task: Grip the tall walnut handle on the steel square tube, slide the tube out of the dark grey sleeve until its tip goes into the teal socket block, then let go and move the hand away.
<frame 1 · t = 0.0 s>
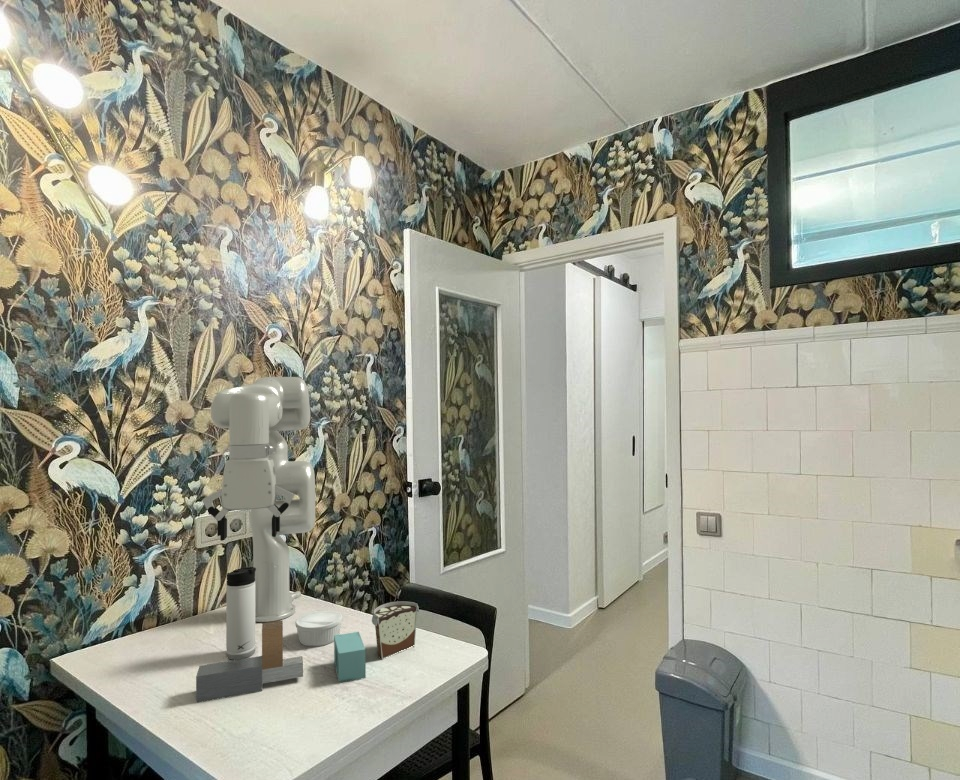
hand: (249, 537, 112), 31 cm above the table, tool pointing down, fingers open, 9 cm apart
food container: (391, 650, 130), on the table
inner tube: (254, 654, 114), point 6 cm above the table, slide at 0.0 cm, touching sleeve
socket block: (349, 656, 120), on the table
ramekin: (319, 640, 137), on the table
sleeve: (197, 696, 110), on the table
travel mug: (241, 655, 129), on the table
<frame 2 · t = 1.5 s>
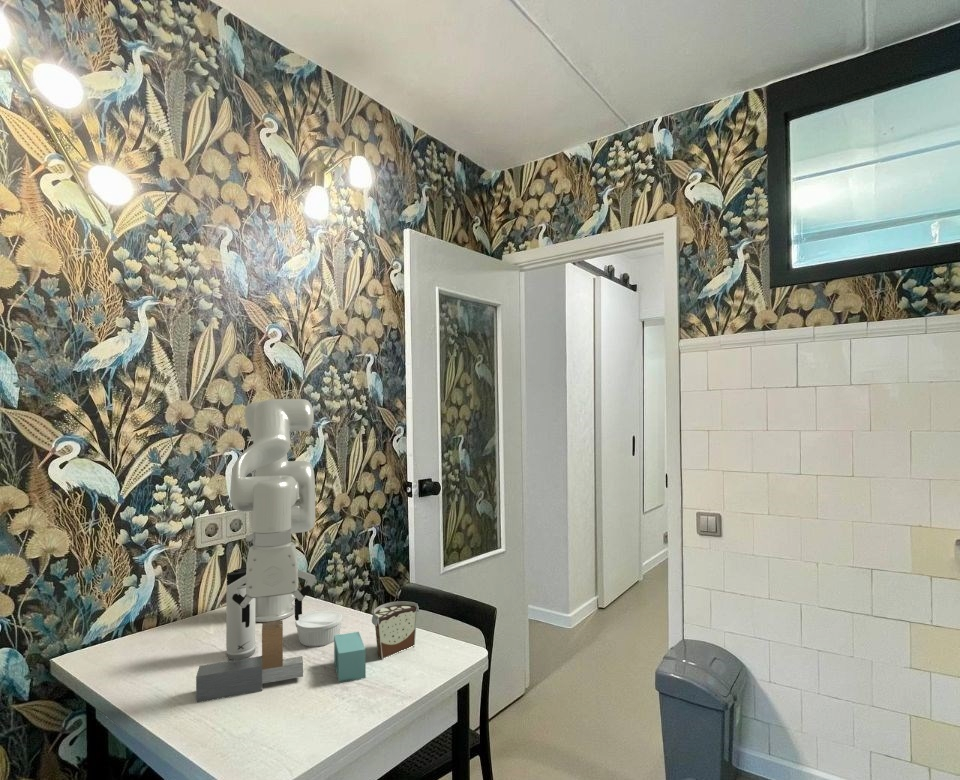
hand: (272, 621, 115), 13 cm above the table, tool pointing down, fingers open, 9 cm apart
nothing on the table moved.
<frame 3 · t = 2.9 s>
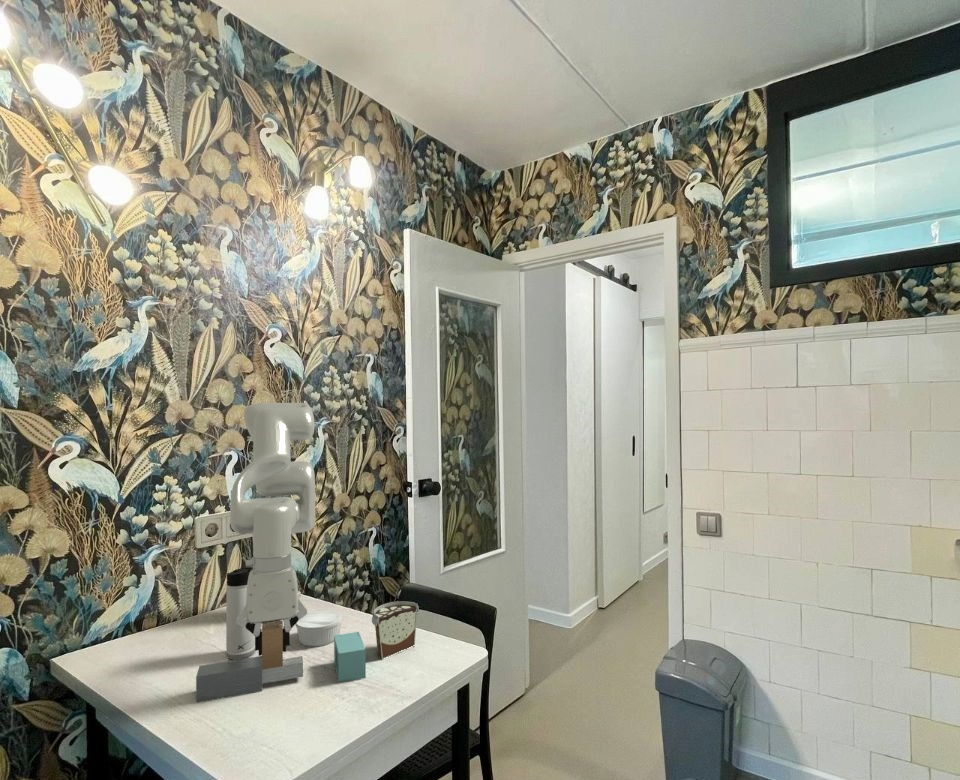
hand: (272, 650, 115), 7 cm above the table, tool pointing down, fingers closed on inner tube, 4 cm apart
inner tube: (254, 654, 114), point 6 cm above the table, slide at 0.0 cm, touching gripper
everything else where it was.
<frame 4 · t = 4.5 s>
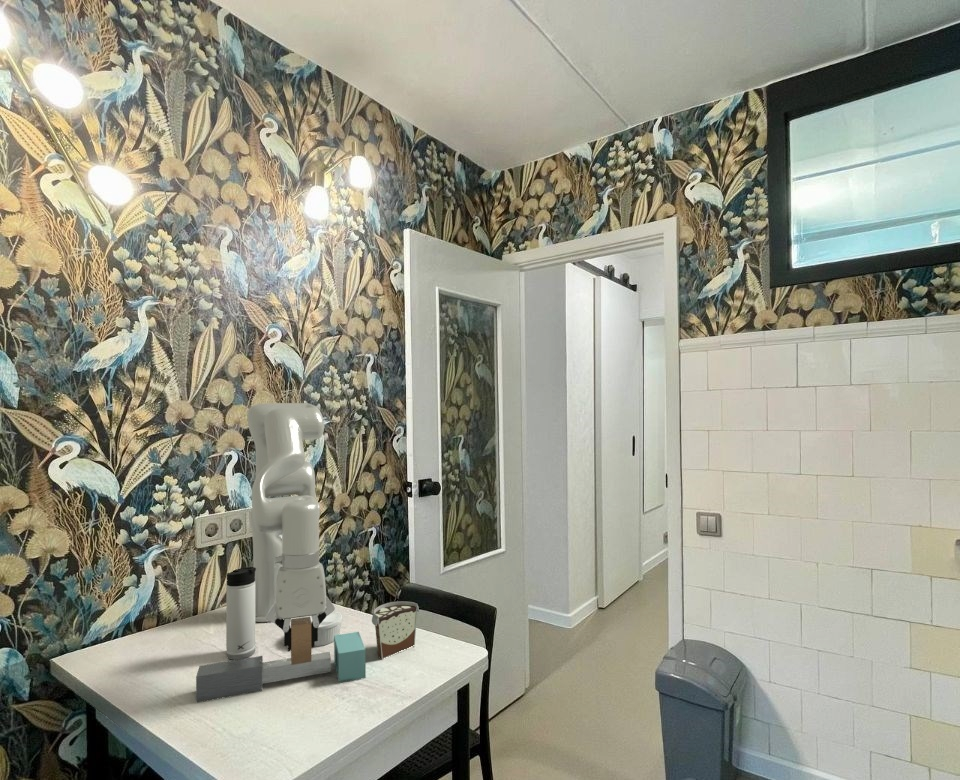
hand: (301, 645, 117), 7 cm above the table, tool pointing down, fingers closed on inner tube, 4 cm apart
inner tube: (283, 650, 116), point 6 cm above the table, slide at 5.7 cm, touching gripper
everything else where it was.
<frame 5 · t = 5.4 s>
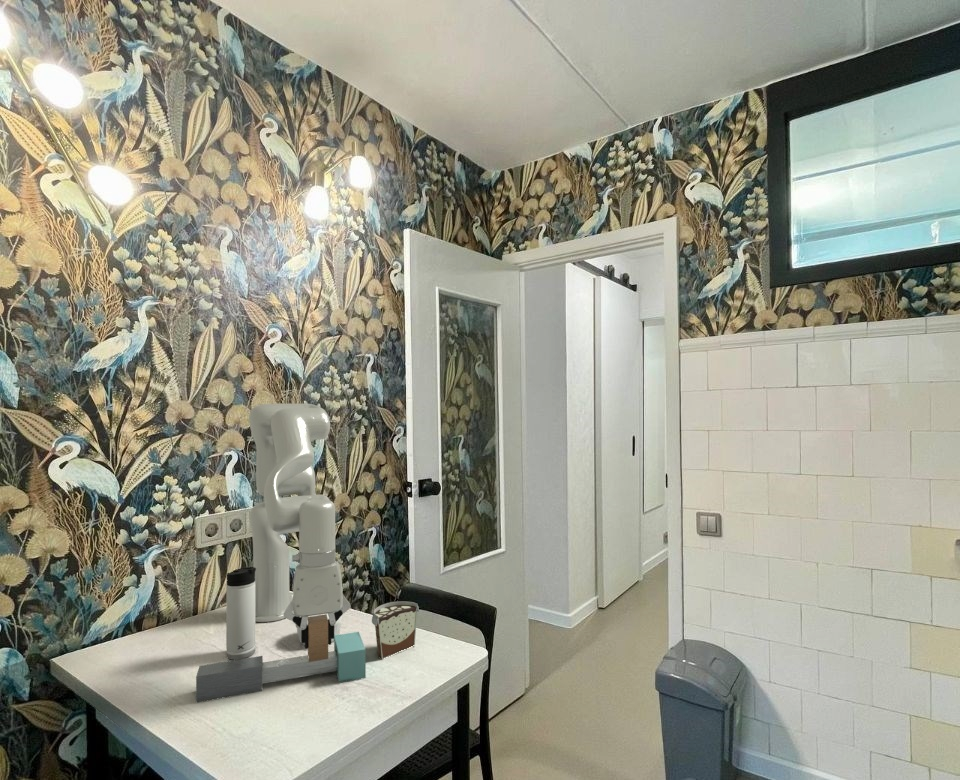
hand: (317, 643, 118), 7 cm above the table, tool pointing down, fingers closed on inner tube, 4 cm apart
inner tube: (300, 647, 117), point 6 cm above the table, slide at 9.1 cm, touching gripper
everything else where it was.
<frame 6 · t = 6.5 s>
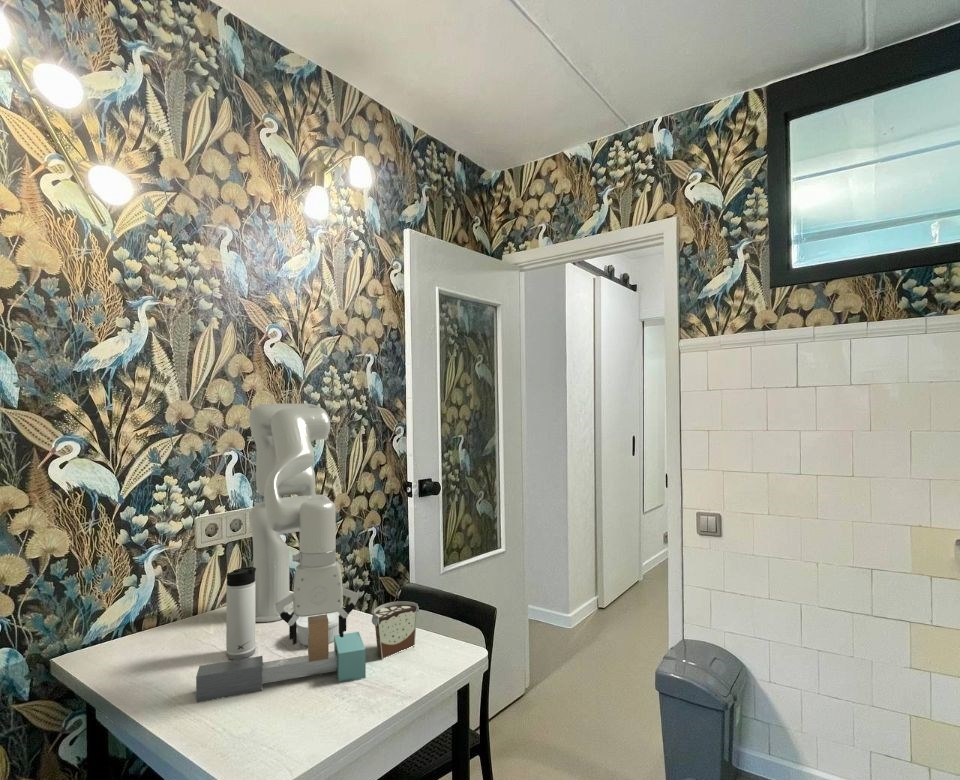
hand: (318, 638, 118), 8 cm above the table, tool pointing down, fingers open, 9 cm apart
inner tube: (301, 647, 117), point 6 cm above the table, slide at 9.2 cm
everything else where it was.
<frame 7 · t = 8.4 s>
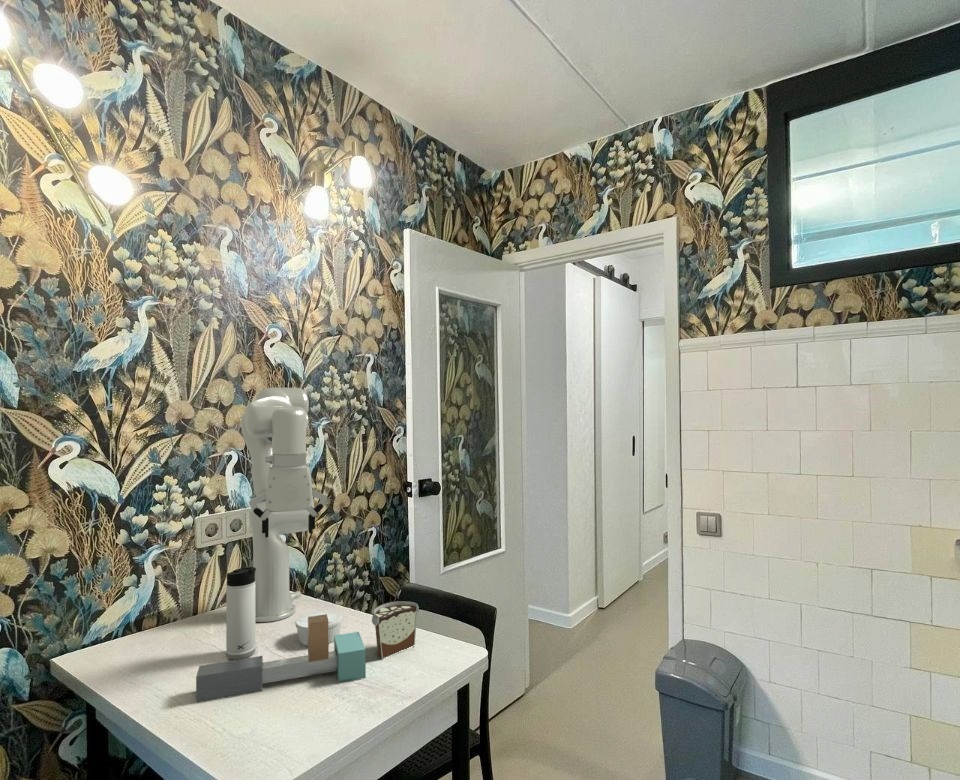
hand: (288, 534, 128), 28 cm above the table, tool pointing down, fingers open, 9 cm apart
nothing on the table moved.
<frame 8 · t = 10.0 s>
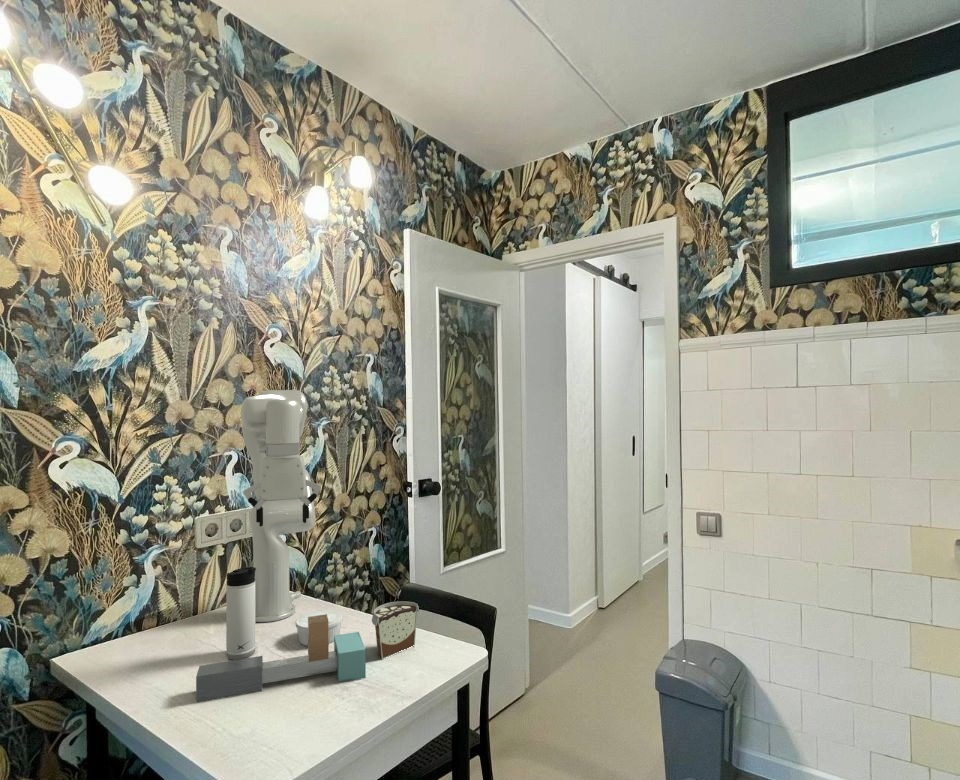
hand: (283, 523, 130), 30 cm above the table, tool pointing down, fingers open, 9 cm apart
nothing on the table moved.
at the end: inner tube slide at 9.2 cm; the gripper is holding nothing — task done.
